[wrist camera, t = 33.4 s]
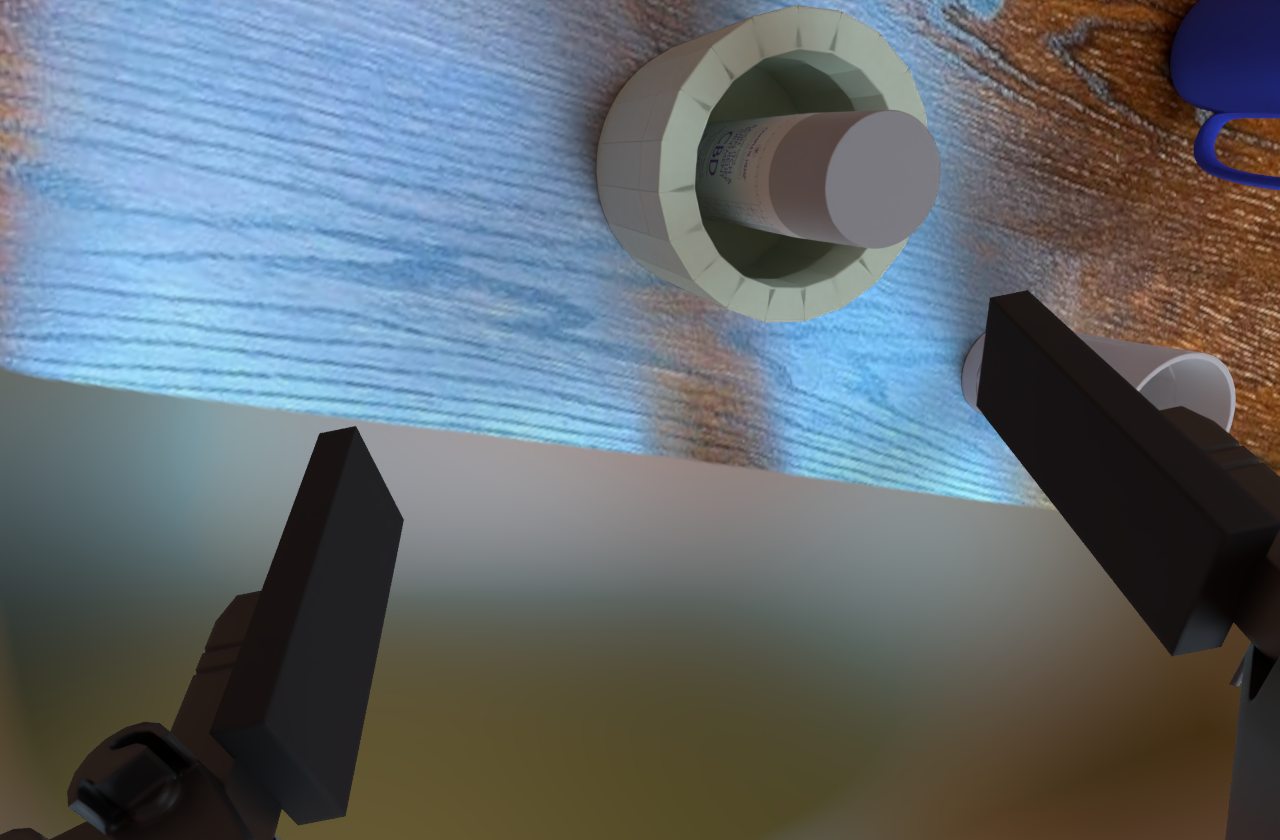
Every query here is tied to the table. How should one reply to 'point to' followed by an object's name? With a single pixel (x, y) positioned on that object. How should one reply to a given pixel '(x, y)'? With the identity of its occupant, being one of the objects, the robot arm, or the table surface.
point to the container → (821, 175)
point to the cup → (1147, 376)
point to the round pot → (728, 91)
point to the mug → (1229, 72)
